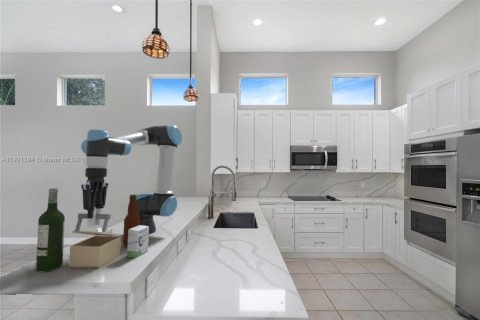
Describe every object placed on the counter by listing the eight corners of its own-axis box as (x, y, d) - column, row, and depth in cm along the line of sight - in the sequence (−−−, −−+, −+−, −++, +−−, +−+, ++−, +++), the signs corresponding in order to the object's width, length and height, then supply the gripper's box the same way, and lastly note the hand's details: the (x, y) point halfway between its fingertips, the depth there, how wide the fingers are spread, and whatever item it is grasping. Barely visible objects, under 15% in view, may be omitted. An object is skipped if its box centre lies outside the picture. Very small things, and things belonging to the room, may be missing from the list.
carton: (94, 253, 103) (94, 235, 103) (120, 254, 102) (120, 236, 103) (69, 267, 89) (70, 246, 89) (99, 268, 88) (100, 247, 89)
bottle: (140, 242, 120) (142, 193, 121) (137, 247, 113) (139, 195, 114) (125, 243, 118) (127, 194, 119) (121, 248, 111) (123, 195, 112)
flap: (94, 235, 103) (98, 218, 106) (121, 236, 103) (125, 218, 105) (71, 232, 90) (77, 213, 93) (102, 233, 90) (107, 214, 93)
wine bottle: (30, 269, 86) (34, 189, 87) (54, 262, 93) (57, 187, 95) (44, 273, 83) (48, 190, 85) (67, 265, 91) (70, 188, 92)
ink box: (138, 250, 109) (139, 224, 109) (148, 251, 108) (149, 225, 108) (126, 256, 100) (127, 229, 101) (136, 258, 99) (137, 230, 100)
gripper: (100, 167, 103) (97, 221, 102) (73, 166, 87) (70, 230, 86) (116, 167, 102) (114, 221, 101) (92, 167, 87) (89, 230, 86)
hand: (93, 225), depth 94 cm, fingers closed on flap, 2 cm apart
